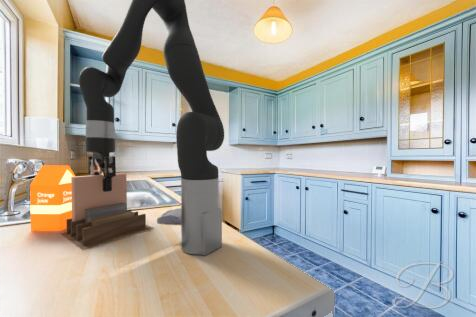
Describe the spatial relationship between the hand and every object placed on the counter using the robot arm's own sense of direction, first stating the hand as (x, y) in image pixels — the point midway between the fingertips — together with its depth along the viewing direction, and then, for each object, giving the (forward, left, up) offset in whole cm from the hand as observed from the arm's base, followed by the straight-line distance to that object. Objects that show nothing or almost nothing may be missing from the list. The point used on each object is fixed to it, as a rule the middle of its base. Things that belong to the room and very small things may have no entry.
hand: (101, 189), depth 63 cm
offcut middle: (-4, 0, -11) cm, 12 cm away
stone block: (-11, -19, -13) cm, 25 cm away
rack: (-5, 0, -12) cm, 13 cm away
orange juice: (+12, +8, -13) cm, 19 cm away
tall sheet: (0, 0, -11) cm, 11 cm away
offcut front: (-9, 0, -11) cm, 14 cm away
